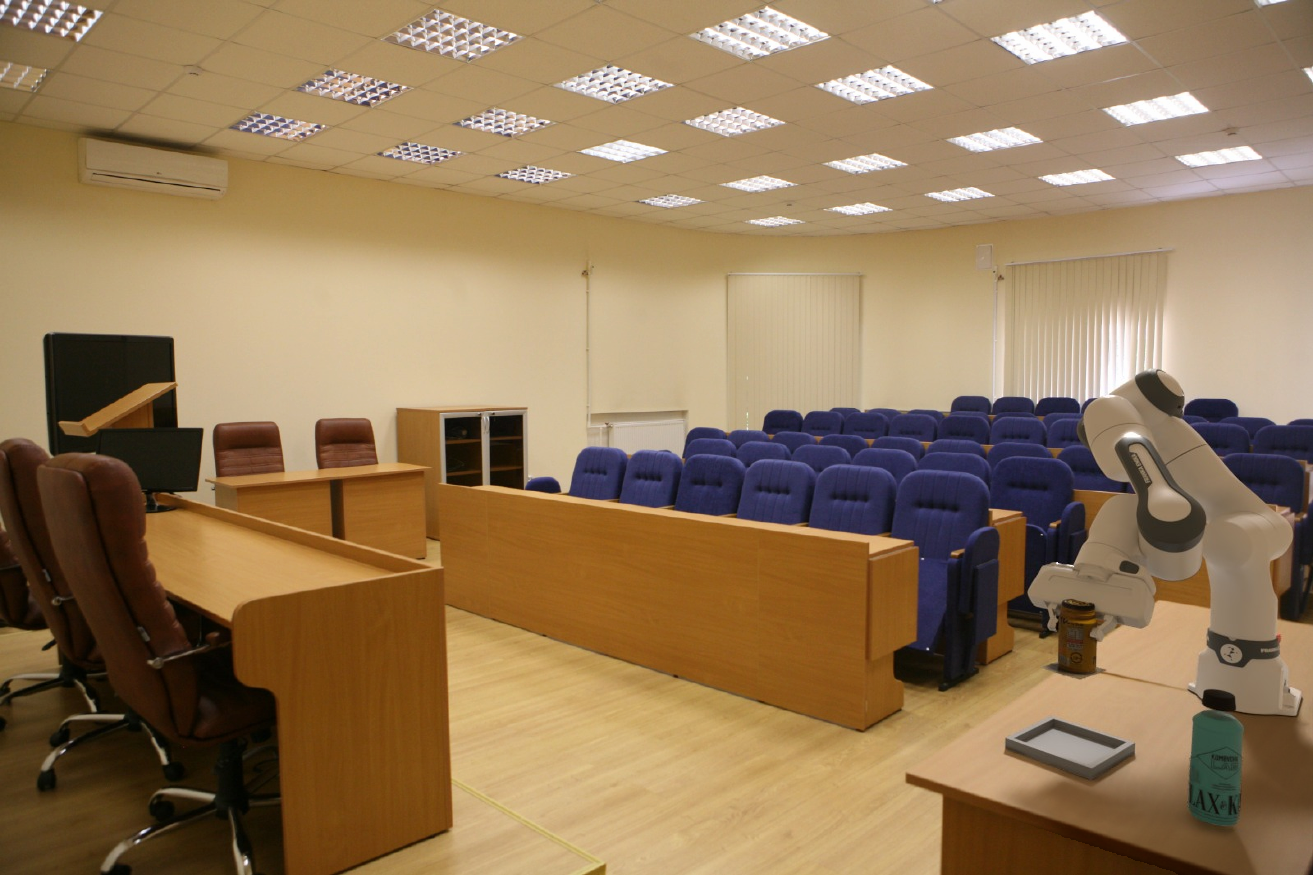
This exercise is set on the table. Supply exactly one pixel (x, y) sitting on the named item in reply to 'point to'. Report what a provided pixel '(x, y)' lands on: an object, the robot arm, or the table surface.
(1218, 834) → the table surface
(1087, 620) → the condiment
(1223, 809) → the beverage bottle
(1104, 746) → the tray
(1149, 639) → the table surface
